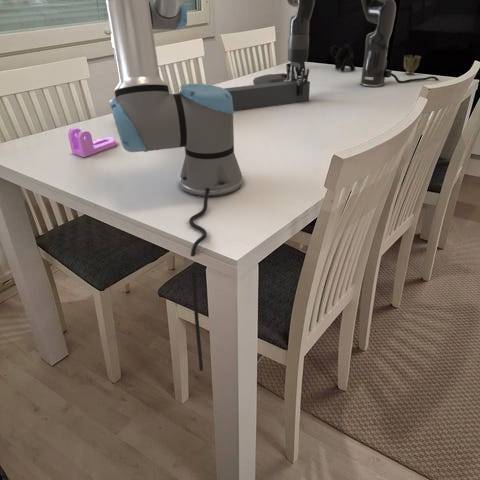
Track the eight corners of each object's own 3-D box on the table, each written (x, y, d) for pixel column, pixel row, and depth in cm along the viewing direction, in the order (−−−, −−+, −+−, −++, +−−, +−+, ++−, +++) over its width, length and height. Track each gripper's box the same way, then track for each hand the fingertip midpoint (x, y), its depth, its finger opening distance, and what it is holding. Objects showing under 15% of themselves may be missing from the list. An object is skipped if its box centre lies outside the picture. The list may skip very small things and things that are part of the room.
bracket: (84, 157, 126) (79, 133, 123) (72, 153, 129) (66, 129, 126) (119, 144, 135) (116, 121, 131) (108, 140, 138) (104, 118, 134)
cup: (399, 75, 209) (402, 56, 205) (402, 71, 214) (405, 54, 210) (416, 76, 206) (419, 57, 202) (418, 73, 211) (422, 55, 207)
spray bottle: (250, 85, 197) (282, 75, 213) (270, 88, 191) (301, 78, 207) (250, 78, 195) (282, 69, 211) (271, 81, 189) (302, 72, 206)
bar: (124, 125, 151) (120, 104, 147) (121, 121, 155) (118, 100, 151) (308, 101, 174) (310, 81, 170) (302, 98, 177) (303, 79, 174)
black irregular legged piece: (345, 81, 223) (323, 62, 226) (359, 67, 223) (338, 48, 225) (346, 70, 212) (324, 50, 215) (362, 55, 211) (339, 35, 214)
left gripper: (142, 51, 136) (152, 126, 148) (131, 43, 150) (141, 112, 162) (118, 53, 134) (129, 129, 146) (109, 45, 148) (120, 115, 160)
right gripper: (317, 48, 159) (313, 97, 168) (298, 43, 171) (295, 89, 180) (298, 50, 157) (296, 99, 166) (280, 44, 168) (279, 91, 177)
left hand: (135, 120), depth 154 cm, fingers closed on bar, 5 cm apart
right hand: (296, 93), depth 173 cm, fingers closed on bar, 5 cm apart
